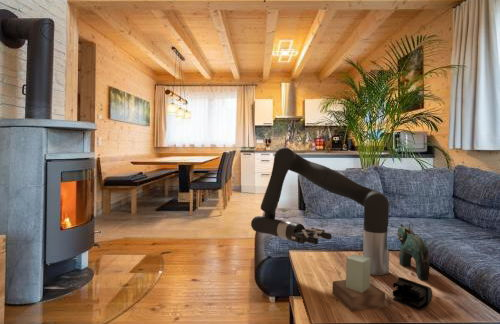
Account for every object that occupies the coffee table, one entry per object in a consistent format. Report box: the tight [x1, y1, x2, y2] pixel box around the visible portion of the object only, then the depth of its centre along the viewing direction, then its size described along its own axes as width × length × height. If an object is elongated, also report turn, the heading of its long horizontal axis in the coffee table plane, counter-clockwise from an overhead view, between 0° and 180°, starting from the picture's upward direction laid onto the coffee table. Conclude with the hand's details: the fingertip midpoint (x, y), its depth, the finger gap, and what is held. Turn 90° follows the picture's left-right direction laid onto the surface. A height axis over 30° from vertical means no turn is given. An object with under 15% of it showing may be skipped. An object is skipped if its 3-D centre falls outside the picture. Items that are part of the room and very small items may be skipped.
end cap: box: [392, 276, 433, 312], centre depth 102 cm, size 10×7×7 cm
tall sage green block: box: [345, 253, 371, 293], centre depth 103 cm, size 6×6×10 cm
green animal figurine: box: [396, 222, 431, 282], centre depth 128 cm, size 20×6×20 cm, turn 178°
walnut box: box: [332, 279, 386, 312], centre depth 104 cm, size 12×12×5 cm
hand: (324, 239), depth 114 cm, fingers open, 8 cm apart
